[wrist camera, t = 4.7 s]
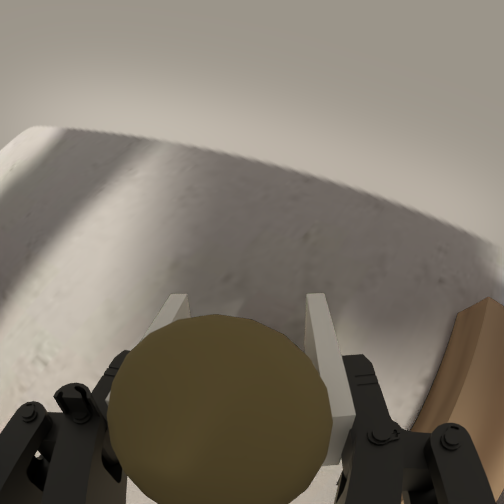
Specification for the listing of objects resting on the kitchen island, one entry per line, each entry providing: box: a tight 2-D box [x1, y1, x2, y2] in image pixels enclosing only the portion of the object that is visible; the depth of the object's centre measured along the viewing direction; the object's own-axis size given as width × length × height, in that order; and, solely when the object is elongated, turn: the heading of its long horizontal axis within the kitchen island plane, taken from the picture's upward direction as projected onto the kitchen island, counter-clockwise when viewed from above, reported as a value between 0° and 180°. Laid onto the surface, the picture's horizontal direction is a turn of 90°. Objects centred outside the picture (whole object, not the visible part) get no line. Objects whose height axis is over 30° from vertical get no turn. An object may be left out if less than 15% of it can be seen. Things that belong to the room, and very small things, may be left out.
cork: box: [107, 314, 333, 504], centre depth 9 cm, size 6×6×11 cm
